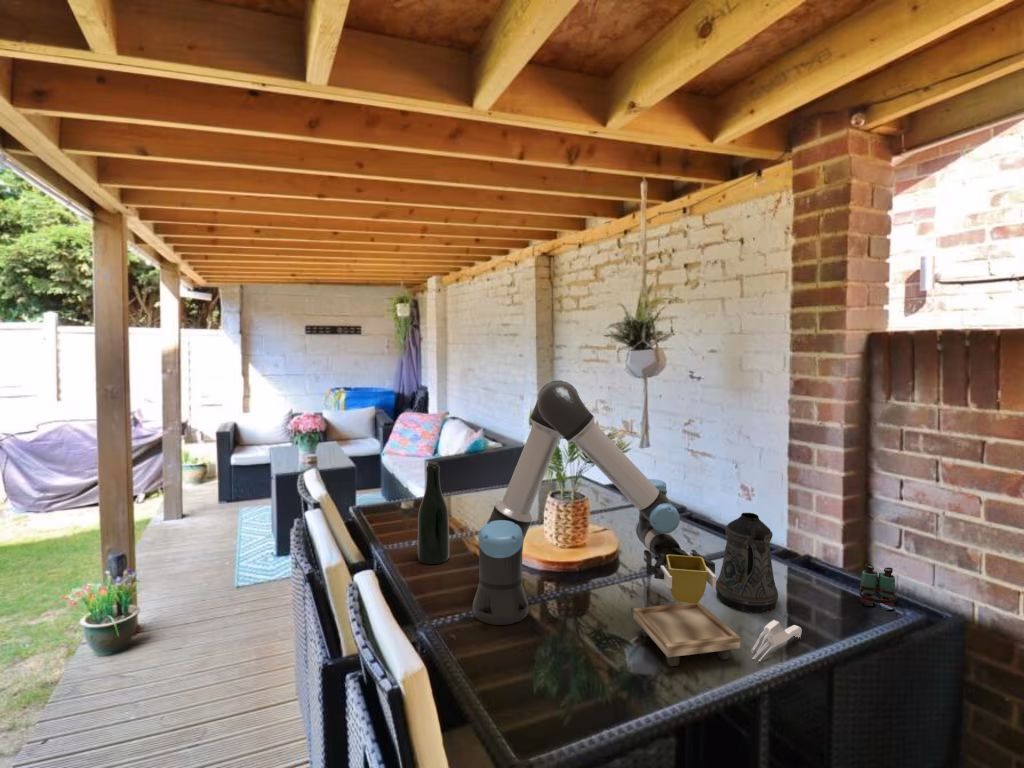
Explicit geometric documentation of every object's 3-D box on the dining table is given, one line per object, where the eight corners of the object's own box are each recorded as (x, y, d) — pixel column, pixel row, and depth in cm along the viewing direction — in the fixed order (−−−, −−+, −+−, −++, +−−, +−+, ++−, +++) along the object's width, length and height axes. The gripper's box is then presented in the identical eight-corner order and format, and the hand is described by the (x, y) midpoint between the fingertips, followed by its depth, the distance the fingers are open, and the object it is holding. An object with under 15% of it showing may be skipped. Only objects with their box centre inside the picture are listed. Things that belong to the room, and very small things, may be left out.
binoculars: (861, 575, 154) (860, 559, 162) (858, 610, 156) (858, 593, 164) (900, 582, 149) (897, 566, 158) (897, 618, 151) (895, 600, 160)
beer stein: (746, 583, 171) (750, 503, 169) (800, 612, 153) (804, 523, 151) (702, 592, 165) (705, 508, 163) (753, 623, 147) (756, 530, 145)
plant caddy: (667, 672, 125) (668, 646, 125) (633, 631, 143) (633, 608, 142) (739, 662, 129) (740, 637, 128) (697, 623, 146) (698, 601, 146)
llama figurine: (764, 685, 131) (803, 636, 139) (755, 648, 127) (796, 599, 136) (757, 681, 132) (796, 632, 141) (748, 644, 129) (789, 597, 138)
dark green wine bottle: (428, 568, 181) (427, 467, 178) (412, 558, 189) (411, 461, 186) (455, 560, 188) (455, 462, 185) (438, 550, 196) (438, 457, 193)
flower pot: (707, 609, 130) (708, 571, 129) (668, 605, 131) (669, 568, 130) (701, 592, 138) (702, 556, 138) (664, 589, 140) (665, 554, 139)
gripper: (702, 559, 153) (739, 597, 131) (621, 560, 152) (644, 598, 130) (703, 532, 152) (740, 566, 130) (622, 533, 151) (645, 567, 129)
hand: (692, 582), depth 130 cm, fingers closed on flower pot, 10 cm apart
